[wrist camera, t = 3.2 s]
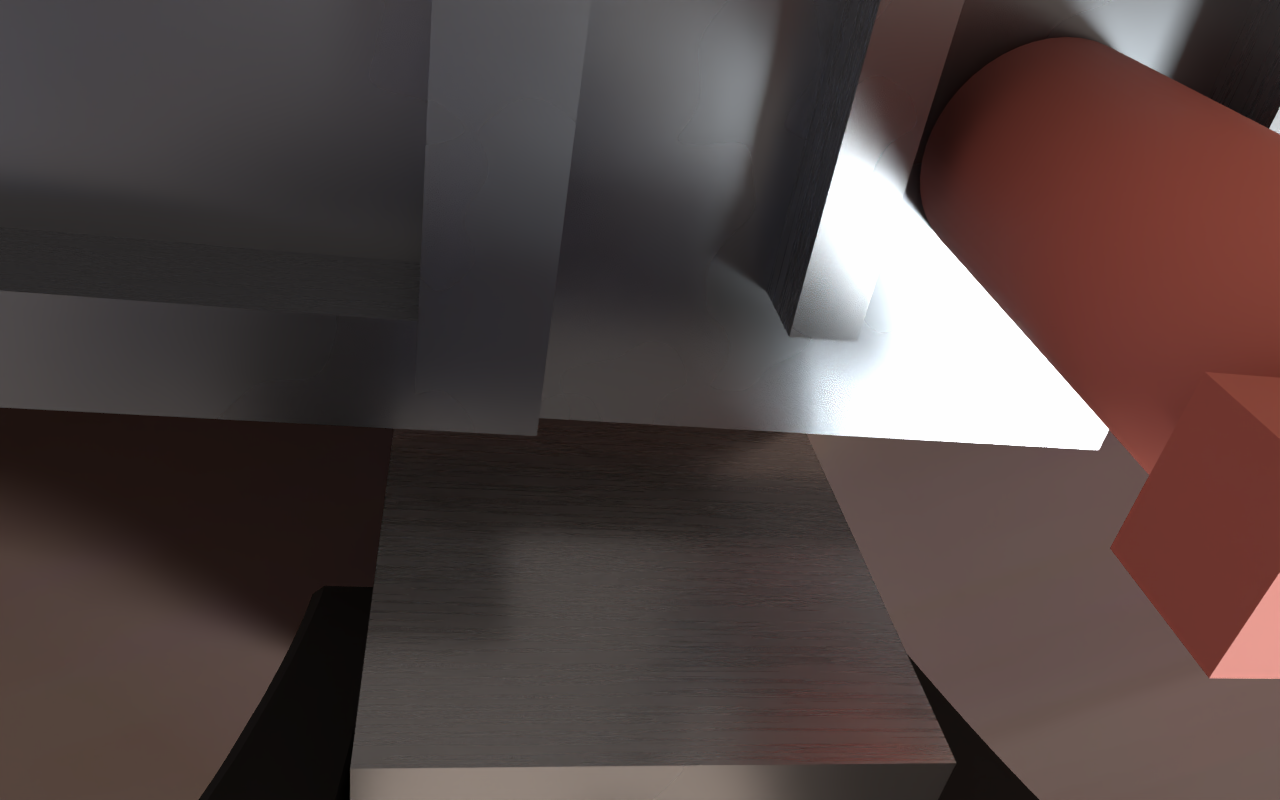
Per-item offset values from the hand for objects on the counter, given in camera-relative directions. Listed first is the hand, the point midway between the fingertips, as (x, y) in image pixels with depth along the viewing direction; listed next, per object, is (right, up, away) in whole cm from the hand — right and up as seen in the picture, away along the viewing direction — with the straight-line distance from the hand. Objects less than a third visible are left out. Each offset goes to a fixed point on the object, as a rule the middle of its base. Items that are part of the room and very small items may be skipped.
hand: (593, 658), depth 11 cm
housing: (0, +1, +1) cm, 1 cm away
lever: (+4, +5, -3) cm, 7 cm away
